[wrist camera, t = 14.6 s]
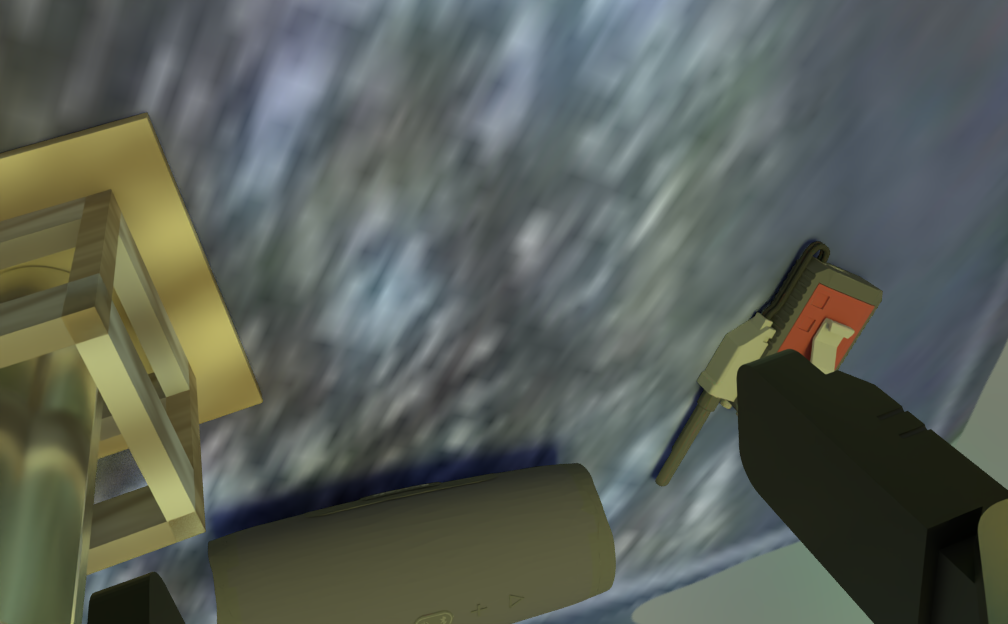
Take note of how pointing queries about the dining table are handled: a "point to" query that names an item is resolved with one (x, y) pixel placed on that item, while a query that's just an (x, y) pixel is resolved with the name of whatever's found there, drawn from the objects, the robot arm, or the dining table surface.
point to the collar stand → (124, 317)
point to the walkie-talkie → (785, 336)
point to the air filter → (45, 473)
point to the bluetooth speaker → (424, 555)
